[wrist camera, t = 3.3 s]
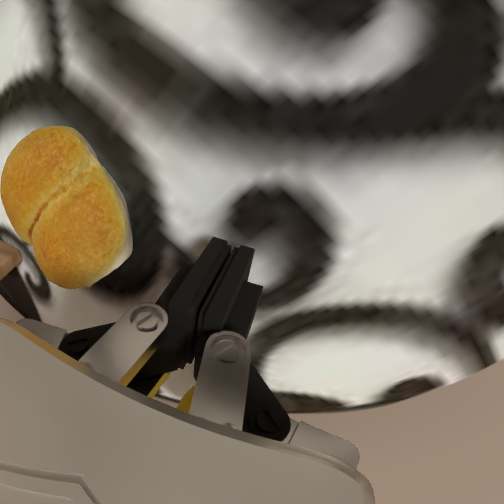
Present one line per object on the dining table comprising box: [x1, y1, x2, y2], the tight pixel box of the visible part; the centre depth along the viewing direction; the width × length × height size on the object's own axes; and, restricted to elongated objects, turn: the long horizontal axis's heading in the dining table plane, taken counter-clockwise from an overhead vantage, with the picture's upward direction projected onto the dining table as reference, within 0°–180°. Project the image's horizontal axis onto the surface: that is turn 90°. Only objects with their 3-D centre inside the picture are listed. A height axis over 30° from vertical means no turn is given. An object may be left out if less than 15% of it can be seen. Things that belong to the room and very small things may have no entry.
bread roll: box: [0, 126, 133, 289], centre depth 13 cm, size 8×9×4 cm
